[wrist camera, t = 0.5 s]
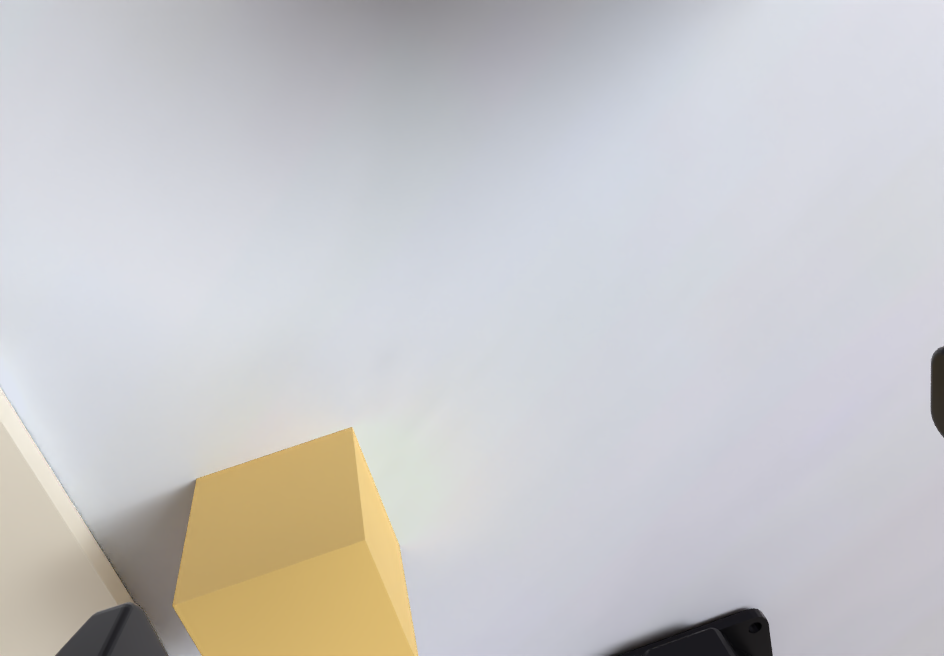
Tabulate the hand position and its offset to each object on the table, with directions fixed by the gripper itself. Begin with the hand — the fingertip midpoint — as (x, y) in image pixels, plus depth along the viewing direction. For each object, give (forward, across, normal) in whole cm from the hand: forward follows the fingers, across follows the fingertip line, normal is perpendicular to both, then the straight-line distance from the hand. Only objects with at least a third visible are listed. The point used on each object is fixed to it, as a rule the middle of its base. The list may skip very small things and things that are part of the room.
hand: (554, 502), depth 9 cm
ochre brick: (+13, +6, +8) cm, 16 cm away
